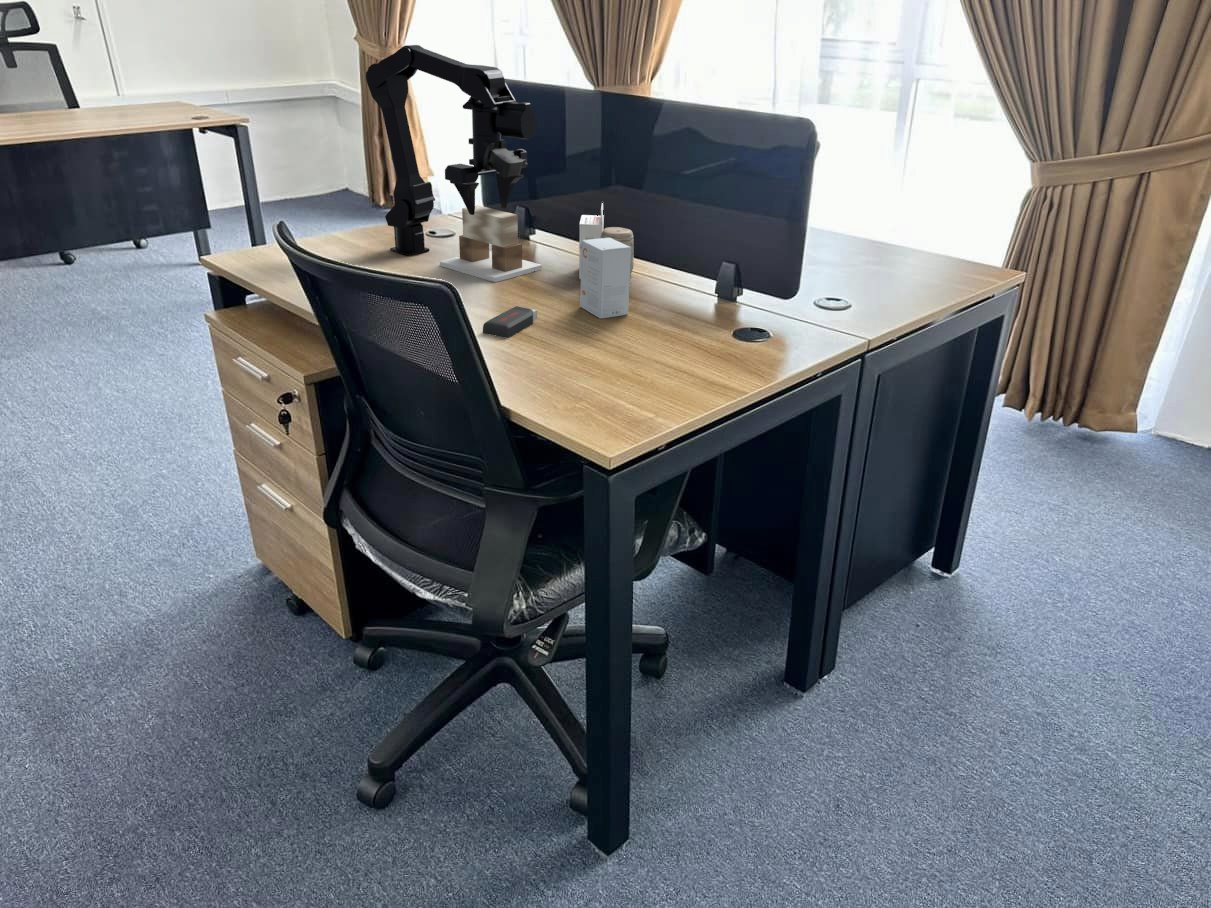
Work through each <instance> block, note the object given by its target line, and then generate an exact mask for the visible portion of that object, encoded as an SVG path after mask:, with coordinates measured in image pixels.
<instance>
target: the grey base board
mask: <svg viewBox="0 0 1211 908" xmlns="http://www.w3.org/2000/svg"><path fill="white" fill-rule="evenodd" d="M439 266H440V267H443V268H446V269H449V270H452V271H456V272H459V273H463V274H466V275H468V276H473V277H476V278H478V279H482V280H486V281H489V282H493V283H498V282H502V281H506V280H508V279H509V280H510V279H513V278H517V277H521V276H524V275H527V274H531V273H535V272H538V271H542V270H543V265H542V264H540V263H536V262H532V261H529V260H525V259H522V268H518V269H515V270H511V271H507V272H504V271H500V270H497V269H494V268H492V250H489V258H488V259H484V260H480V261H476V262H469V261H466V260H462V259H460V255H459V256H456V257H451V258H447V259H443V260H439ZM534 271H535V272H534Z"/></svg>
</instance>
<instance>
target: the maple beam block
mask: <svg viewBox="0 0 1211 908" xmlns="http://www.w3.org/2000/svg"><path fill="white" fill-rule="evenodd" d="M461 213H462V214H461V215H462V235H463V237H466V238H470V239H474V240H478V241H481V242H485V243H489V245H491V246H492V245H496V246H500V247H506V246H510V245H514V244H518V243H519V236H518V235H519V233H518V232H519V230H518V229H519V223H518V221H519V220H518V219H519V218H518V216H519V215H518V214H516V213H511V212H507V211H502V210H499V209H494V208H490V207H487V206H481V205H475V213H474V215H470V214H469V212H468V210H467V208H466V207H462V209H461Z"/></svg>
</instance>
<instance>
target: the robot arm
mask: <svg viewBox="0 0 1211 908" xmlns="http://www.w3.org/2000/svg"><path fill="white" fill-rule="evenodd" d="M417 71H420V72H424V73H426V74H429V75H431V76H433V77H436V78H439V79H442V80H444V81H447V82H450V83H452V84H454V85H456V86H457V87H458V88H459V89H460V90H461V91H462V92H463V93H464V94H466V95H468V96H470V97H469V99H468V100H467V101H466V102H465V103H464V104H463V105H462V109H464V110H470V111H471V120H472V122H471V123H472V137H470V138H468V145H472V158H469V159H468V162H469V165H468V164H464V163H455V164H448V165H447V166H446V167H445V168H444V180H446V181H449V183H450V184H452V185H454V187H455V189H456V190H457V192H458V193H459V195H460V197H461V199H462V201H463V203H464V206H465V208H467V210H468V212H469V214H470V215H474V213H475V206H476V189H477V188H478V186H479V185H480V183H479V182H477V181H478V179H479V176H484V175H490V174H491V175H492V174H495V177H496V185H497V190H498V200H499V205H500V207H501V209H503V210H505V209H507V207H508V204H509V201H510V197H511V195H512V192H513V189H514V186H515V184H516V183H517V182H518V181H519V180H520V179H522V178H524V174H528V173H529V164H528V152H527V151H526V149H523V148H518V149H516V150H508V149H507V148H508V147H507V142H506V140H505V139H502V137H505V138H513V139H515V138H516V139H521V140H531V139H532V138H533V137H534V136H535V134H536V131H537V125H538V124H537V123H538V121H537V119H536V114H535V112H534V111H533V110H532V109H531V107H532V105H531V103H530V102H527V101H526V102H525V101H524V102H517V101H516V99H515V97H514V95H513V94H512V92H511V89H510V88H509V86H508V84H507V82H506V81H505V80H506V79H505V77H504V73H503V72H502V70H501V69H499V68H498V67H495V66H489V65H483V64H482V65H481V64H468V63H465V62H462V61H459V60H457V59H454V58H451V57H448V56H446V55H442V54H440V53H437V52H435V51H433V50H429V49H426V48H424V47H423V46H421V45H419V44H411V45H409V44H407V45H402V47H400V48H399V49H398V50H397V51H395V52H394V53H392V54H391V55H388V56H387V57H385V58H384V59H381V60H380V61H379V62H376V63H372V64H371V65H370V66H368V69H367V71H366V72H365V81H366V84H367V86H368V89H369V92H370V95H371V98H372V99H373V100H374V102H375V103H376V105H378V107H379V108H380V109H381V113H382V117H383V118H382V119H383V123H384V127H385V131H386V137H387V139H388V143H389V144H388V145H389V150H390V153H391V159H392V162H393V167H394V172H395V176H396V181H395V185H394V189H393V191H392V192H393V204H394V205H393V206H392V208H390V210H388V212H387V213H386V214H385V216H384V217H385V220H386V221H385V222H386V224H387V226H388V227H393V230H394V231H393V232H394V247H390V248H389V251H392V252H394V253H397V254H401V255H404V256H413V255H418V254H421V253H425V252H429V251H430V248H429V247H426V246H425V233H424V225H423V224H422V223H427V222H429V219H430V216H431V213H432V211H433V210H434V207H435V205H434V201H436V198H435V196H434V194H433V185H432V183H431V181H427V182H426V181H425V180H424V179H423V178H422V176H421V174H420V171H419V167H418V163H417V157H416V151H415V148H414V143H413V138H412V134H411V130H410V123H409V120H408V115H407V111H406V102H407V98H408V94H409V83H408V82H409V80H410V79H411V78H413V77H414V76H415V75H416V73H417Z"/></svg>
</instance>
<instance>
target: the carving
mask: <svg viewBox="0 0 1211 908" xmlns="http://www.w3.org/2000/svg"><path fill="white" fill-rule="evenodd" d="M601 238H612V239H614V240H616V241H618V242H621V243H623V244H625V245H627V246H629V247H631V261H630V280H631V279H632V273H633V270H634V262H635V261H634V260H635V259H634V257H635V256H634V254H635V253H634V251H635V250H634V249H635V248H634V241H635V240H634V233H633V231H632V230H631V229H630V228H625V227H618V226H611V227H610V226H609V227H605V228H603V232H602V233H601ZM630 285H631V283H630V284H629V286H630Z"/></svg>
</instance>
